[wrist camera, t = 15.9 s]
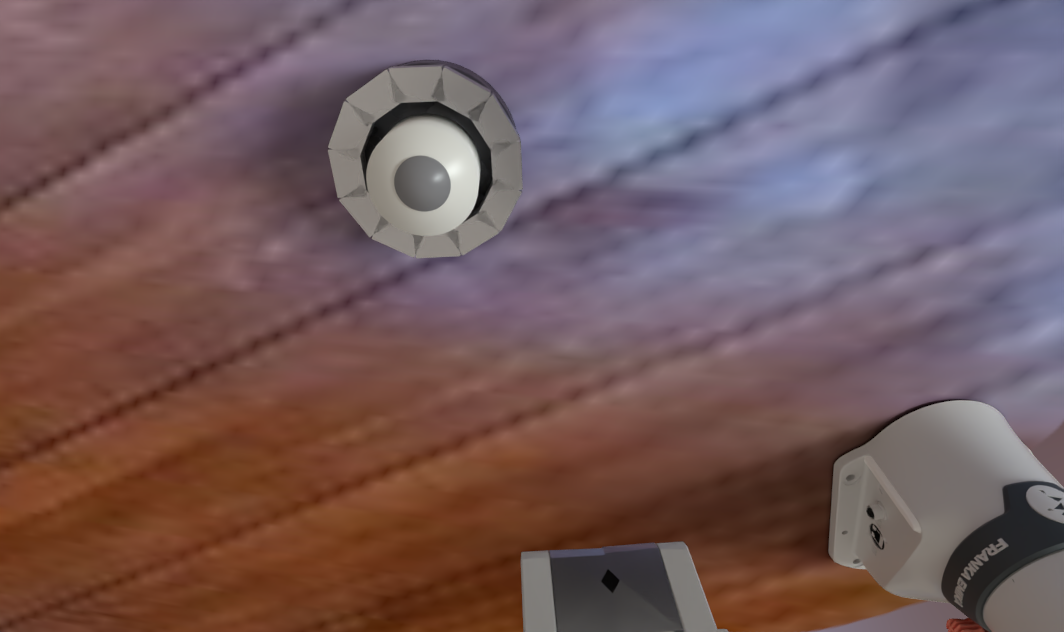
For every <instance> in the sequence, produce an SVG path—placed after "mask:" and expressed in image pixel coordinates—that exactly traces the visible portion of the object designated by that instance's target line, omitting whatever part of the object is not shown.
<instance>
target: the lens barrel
mask: <svg viewBox="0 0 1064 632" xmlns="http://www.w3.org/2000/svg"><path fill="white" fill-rule="evenodd" d="M422 113H432V114H438V115H442V116H445V117H447V118H450V119H452V120H453V121H455V122H457V123H458V124H459V125H460V126H462V127H463V128H464V129H465V130H466V131H467V132H468V133H469V135H470V136H471V137H472V139H473V141H474V142H475V144H476V147H477V149H478V152H479V156H480V162H481V172H480V180H479V189H478V196H477V200H476V203H475V206H474V208H473V210H472V211H471V213H470V215H469V216H468V217H467V218H466V220H465V221H464V222H463V223H461V224H460V225H459V226H458V227H456V228H455V229H453V230H451V231H449V232H446V233H444V234H440V235H434V236H420V235H414V234H410V233H407V232H405V231H402V230H400V229H398V228H396V227H395V226H393V225H392V224H390V223H389V222H388V221H387V220H386V219H385V218H384V217H383V216H382V215H381V214H380V213H379V212H378V210H377V209H376V207H375V206H374V204H373V202H372V200H371V198H370V195H369V192H368V188H367V181H366V171H367V165H368V161H369V158H370V156H371V154H372V152H373V150H374V149H375V147H376V146H377V144H378V143H379V142H380V141H381V140H382V139H383V138H384V137H385V136H386V134H387V133H388V132H389V131H390V130H391V129H392V128H393V127H394V126H395V125H396V124H397V123H398V122H400V121H401V120H403V119H405V118H407V117H409V116H412V115H416V114H422ZM328 148H329V149H328V153H329V158H330V163H331V168H332V173H333V178H334V182H335V187H336V192H337V197H338V198H340V199H339V201H340V202H341V203H342V205H343V206H344V207H345V208H346V209H347V211H348V212H349V213H350V214H351V215H352V217H353V218H354V219H355V220H356V221H357V223H358V224H359V225H360V226H361V227H362V229H363V230H364V231H365V232H366V234H367V235H368V236H369V237H371V236H372V235H373V236H372V239H373V240H375V241H378V242H380V243H382V244H384V245H387V246H389V247H391V248H393V249H396V250H398V251H400V252H402V253H404V254H407V255H409V256H411V257H413V258H414V257H415V254H416V258H430V257H451V256H461V254H462V255H464V254H466V253H467V252H469V251H471V250H472V249H474V248H476V247H477V246H479V245H480V244H482V243H484V242H485V241H487V240H489V239H490V238H492V237H493V236H495V235H497V234H498V233H500V231H501V230H502V228H503V227H504V225H505V223H506V221H507V219H508V217H509V215H510V213H511V212H512V210H513V208H514V206H515V204H516V202H517V200H518V198H519V197H520V195H521V193H522V190H523V188H522V163H521V141H520V137H519V134H518V132H517V131H516V127H515V123H514V121H513V118H512V115H511V113H510V111H509V109H508V107H507V105H506V104H505V102H504V101H503V99H502V98H501V96H500V95H499V94H498V93H497V92H496V90H495V89H494V88H493V87H492V86H491V85H490V84H489V83H488V82H486V81H485V80H484V79H483V78H482V77H480V76H479V75H477V74H476V73H474V72H473V71H471V70H469V69H466V68H464V67H462V66H460V65H457V64H454V63H451V62H446V61H440V60H420V61H413V62H409V63H405V64H402V65H400V66H392V67H390V68H388V69H386V70H385V71H383V72H382V73H380V74H379V75H378V76H376V77H375V78H374V79H372V80H371V81H370V82H368V83H367V84H365V85H364V86H363V87H361V88H360V89H359V90H357V91H356V92H354V93H353V94H352V95H350V96H349V97H348V98H346V100H345V101H344V103H343V106H342V109H341V112H340V114H339V117H338V120H337V123H336V126H335V129H334V131H333V134H332V137H331V140H330V143H329V145H328Z"/></svg>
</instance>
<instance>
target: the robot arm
mask: <svg viewBox="0 0 1064 632" xmlns="http://www.w3.org/2000/svg"><path fill="white" fill-rule="evenodd" d="M828 552H829V555H830V557H831V558H832V559H833V561H834V562H836V563H838V564H841V565H843V566H847V567H851V568H858V569H867V570H868V572H869V573H870V574H871V576H872V577H873V578H874V579H875V581H876V582H877V583H878V584H879V585H880V586H881V587H883V588H884V589H885V590H887V591H889V592H890V593H893V594H895V595H898V596H901V597H906V598H912V599H921V600H929V601H937V602H945V603H951V604H952V605H954V606H955V607H956V608H957V609H959V610H960V611H961V612H962V613H964V614H965V615H966V616H967V617H969V618H967V619H964V620H963V619H949V620H948V621H947V626H946V627H947V629H949V630H948V632H1064V488H1063V487H1062V486H1061V485H1060V483H1059V482H1057V480H1056V479H1055V478H1054V477H1053V476H1052V475H1051V474H1050V473H1049V472H1048V471H1047V470H1046V468H1045V467H1044V466H1043V465H1042V464H1041V463H1040V462H1039V461H1038V460H1037V459H1036V458H1035V457H1034V455H1033V454H1032V452H1031V451H1030V450H1029V449H1028V448H1027V447H1026V446H1025V445H1024V443H1022V442H1021V440H1020V439H1019V438H1018V437H1017V435H1016V434H1015V433H1014V431H1013V430H1012V428H1011V427H1010V426H1009V424H1008V423H1007V421H1006V420H1005V418H1004V417H1003V415H1002V414H1001V413H1000V412H999V411H998V410H996V409H995V408H993V407H992V406H990V405H987V404H984V403H981V402H977V401H969V400H956V401H947V402H941V403H937V404H933V405H930V406H926V407H924V408H921V409H918V410H916V411H914V412H911V413H909V414H907V415H905V416H903V417H902V418H900V419H898V420H896V421H895V422H893V423H892V424H890V425H889V426H888V427H886V428H885V429H884V430H882V431H881V432H880V433H879V434H878V435H877V436H875V437H874V438H873V439H872V440H871V441H869V442H868V443H866V444H865V445H863V446H861V447H859V448H857V449H855V450H853V451H850V452H849V453H847V454H845V455H843V456H842V457H840V458H839V459H838V460H837V461H836V462H835V464H834V470H833V486H832V501H831V517H830V532H829V549H828ZM521 580H522V604H523V628H524V632H728V631H727V630H726V629H717V627H716V625H715V622H714V619H713V616H712V614H711V611H710V608H709V605H708V602H707V600H706V597H705V594H704V591H703V588H702V586H701V583H700V580H699V577H698V575H697V572H696V569H695V566H694V563H693V561H692V558H691V555H690V552H689V550H688V547H687V546H686V544H685V543H684V542H682V541H679V542H668V543H656V544H655V543H644V544H632V545H620V546H608V547H602V548H594V549H571V550H549V551H548V550H546V551H531V552H521Z"/></svg>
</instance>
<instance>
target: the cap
mask: <svg viewBox="0 0 1064 632" xmlns="http://www.w3.org/2000/svg"><path fill="white" fill-rule="evenodd" d="M480 172H481V162H480V156H479V152H478V149H477V147H476V144H475V142H474V141H473V139H472V137H471V136H470V135H469V133H468V132H467V131H466V130H465V129H464V128H463V127H462V126H460V125H459V124H458V123H457V122H455V121H453V120H452V119H450V118H447V117H445V116H442V115H438V114H432V113H422V114H416V115H412V116H409V117H407V118H405V119H403V120H401V121H400V122H398V123H397V124H396V125H395V126H394V127H393V128H392V129H391V130H390V131H389V132H388V133H387V134H386V136H385V137H384V138H383V139H382V140H381V141H380V142H379V143H378V144H377V146H376V147H375V149H374V150H373V152H372V154H371V156H370V158H369V161H368V165H367V171H366V181H367V188H368V192H369V195H370V198H371V200H372V202H373V204H374V206H375V207H376V209H377V210H378V212H379V213H380V214H381V215H382V216H383V217H384V218H385V219H386V220H387V221H388V222H389V223H390V224H392V225H393V226H395V227H396V228H398V229H400V230H402V231H405V232H407V233H410V234H414V235H420V236H434V235H440V234H444V233H446V232H449V231H451V230H453V229H455V228H456V227H458V226H459V225H460V224H461V223H463V222H464V221H465V220H466V218H467V217H468V216H469V215H470V213H471V211H472V210H473V208H474V206H475V203H476V200H477V196H478V189H479V180H480Z"/></svg>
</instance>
